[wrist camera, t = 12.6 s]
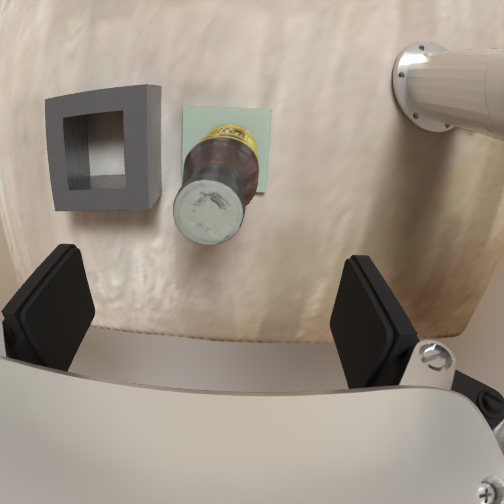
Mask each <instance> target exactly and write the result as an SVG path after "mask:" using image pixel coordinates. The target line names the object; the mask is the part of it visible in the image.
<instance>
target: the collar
mask: <svg viewBox="0 0 504 504" xmlns="http://www.w3.org/2000/svg"><path fill="white" fill-rule="evenodd" d="M121 110H123V128H124V158H125V175H102V176H90V169H89V156H88V140H87V114H93V113H101V112H110V111H121ZM45 120H46V139H47V152H48V162H49V171H50V179H51V187H52V194H53V200H54V206H55V211H102V210H149V211H150V209H151V208H152V207H153V205H154V204H155V202H156V201H157V199H158V198H159V197H160V195H161V194H162V183H161V86H158V85H148V84H146V85H135V86H124V87H115V88H107V89H100V90H93V91H87V92H81V93H75V94H69V95H64V96H59V97H54V98H49V99H45Z"/></svg>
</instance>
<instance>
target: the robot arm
mask: <svg viewBox="0 0 504 504" xmlns="http://www.w3.org/2000/svg"><path fill="white" fill-rule="evenodd" d="M399 75H400V77H399ZM393 87H394V92H395V96H396V98H397V101H398V104H399V105H400V107H401V109H402V111H403V112H404V114H405V115H406V116H407V117H408V118H409V119H410V120H411V121H412V122H413V123H414V124H415V125H417V126H419V127H420V128H423V129H425V130H428V131H432V132H444V131H448V130H450V129H452V128H453V127H455V126H456V127H460V128H464V129H467V130H470V131H474V132H477V133H480V134H483V135H486V136H489V137H492V138H495V139H498V140H501V141H504V49H467V50H450V51H448V50H447V49H446V48H444V47H442V46H441V45H439V44H436V43H433V42H417V43H414V44H411V45H409V46H408V47H406V48H405V49H404V50H403V51H402V52H401V53H400V54H399V56H398V58H397V60H396V62H395V66H394V70H393ZM413 114H414V116H413ZM2 314H3V316H4V318H5V319H4V320H3V322H2V321H1V320H0V504H504V398H503V396H502V395H501V394H500V393H499V392H497V391H496V390H494V389H493V388H491V387H489V386H487V385H485V384H483V383H481V382H479V381H477V380H475V379H473V378H471V377H469V376H467V375H465V374H463V373H461V372H459V371H457V370H455V369H456V358H455V356H454V354H453V352H452V351H451V350H450V349H449V348H448V347H447V346H446V345H444V344H442V343H441V342H438V341H435V340H423V341H421V342H420V341H419V339H418V337H417V332H416V330H415V329H414V327H413V325H412V324H411V322H410V320H409V319H408V317H407V315H406V314H405V312H404V310H403V309H402V307H401V305H400V304H399V302H398V300H397V299H396V297H395V296H394V294H393V292H392V291H391V289H390V288H389V286H388V285H387V283H386V281H385V280H384V278H383V277H382V275H381V274H380V272H379V271H378V269H377V268H376V266H375V265H374V263H373V262H372V260H371V259H370V257H369V256H365V255H352V256H351V258H350V259H347V260H346V261H345V264H344V268H343V273H342V277H341V281H340V285H339V289H338V293H337V296H336V300H335V304H334V308H333V311H332V315H331V319H330V328H331V332H332V335H333V338H334V341H335V344H336V347H337V351H338V354H339V357H340V360H341V363H342V367H343V370H344V373H345V376H346V380H347V383H348V387H349V389H342V390H325V391H303V392H230V391H209V390H193V389H181V388H169V387H160V386H151V385H143V384H135V383H128V382H121V381H115V380H108V379H102V378H97V377H91V376H86V375H81V374H76V373H71V372H67V371H68V369H69V367H70V365H71V362H72V360H73V358H74V356H75V354H76V352H77V350H78V348H79V346H80V344H81V342H82V340H83V338H84V336H85V334H86V332H87V330H88V328H89V326H90V324H91V322H92V320H93V318H94V316H95V307H94V303H93V300H92V296H91V293H90V289H89V285H88V281H87V277H86V273H85V269H84V265H83V260H82V256H81V252H80V250H79V249H78V248H77V247H76V246H75V245H74V244H60V245H58V246H57V247H56V248H55V249H54V251H53V252H52V253H51V254H50V255H49V256H48V257H47V258H46V259H45V260H44V261H43V262H42V263H41V265H40V266H39V267H38V268H37V269H36V270H35V271H34V272H33V274H32V275H31V276H30V277H29V278H28V279H27V280H26V282H25V283H24V284H23V285H22V286H21V288H20V289H19V290H18V291H17V292H16V294H15V295H14V296H13V297H12V299H11V300H10V301H9V302H8V304H7V305H6V306H5V308H4V309H3V310H2Z"/></svg>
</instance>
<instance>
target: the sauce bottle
mask: <svg viewBox="0 0 504 504" xmlns="http://www.w3.org/2000/svg"><path fill="white" fill-rule="evenodd" d="M258 178H259V161H258V150H257V145H256V141H255V139H254V137H253V136H252V134H251V133H250V132H249V131H248V130H246V129H245V128H243V127H241V126H239V125H235V124H224V125H220V126H217V127H215V128H213V129H212V130H211V131H209V132H208V133H207V134H206V135H205V136H204V137H203V138H202V139H201V140H200V141H199V142H198V143H197V144H196V145H195V146H194V147H193V148H192V149H191V150H190V152H189V153H188V154H187V156H186V158H185V162H184V168H183V183H182V187H181V188H180V190H179V191H178V194H177V196H176V197H175V200H174V204H173V217H174V220H175V224H176V226H177V227H178V229H179V230H180V232H181V233H182V234H183V235H184V236H185V237H187V238H188V239H190V240H192V241H194V242H195V243H198V244H202V245H217V244H220V243H222V242H225V241H227V240H229V239H231V238H232V237H233V236H234V235H235V234H236V233H237V232H238V230H239V229H240V227H241V224H242V222H243V217H244V214H245V206H246V205H247V204H249V202H250V201H251V200H252V198H253V196H254V195H255V193H256V190H257V186H258Z"/></svg>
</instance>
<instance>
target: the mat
mask: <svg viewBox="0 0 504 504" xmlns="http://www.w3.org/2000/svg"><path fill="white" fill-rule="evenodd" d="M271 116H272V110H269V109H253V108H231V107H183V132H182V183H183V168H184V162H185V158H186V156H187V154H188V153H189V152H190V150H191V149H192V148H193V147H194V146H195V145H196V144H197V143H198V142H199V141H200V140H201V139H202V138H203V137H204V136H205V135H206V134H207V133H208V132H209V131H211V130H212V129H213V128H215V127H217V126H220V125H224V124H235V125H239V126H241V127H243V128H245V129H246V130H248V131H249V132H250V133H251V134H252V136H253V137H254V139H255V141H256V145H257V150H258V161H259V178H258V186H257V190H256V192H266V181H267V168H268V155H269V142H270V129H271Z"/></svg>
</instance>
